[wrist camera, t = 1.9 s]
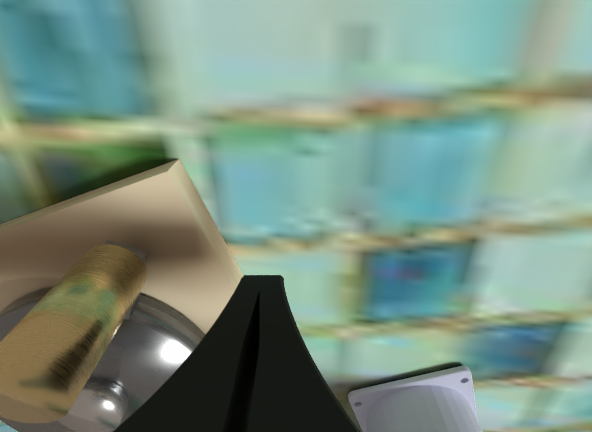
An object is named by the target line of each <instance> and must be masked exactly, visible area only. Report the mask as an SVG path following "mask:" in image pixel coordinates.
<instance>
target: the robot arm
mask: <svg viewBox="0 0 592 432" xmlns="http://www.w3.org/2000/svg"><path fill="white" fill-rule="evenodd" d="M348 400H349V403H350V405H351V407H352V409H353V412H354V414H355V416H356V418H357V420H358V422H359V425H360V427H361V429H362V431H363V432H483V430H482V428H481V426H480V424H479V422H478V418H477V411H476V404H475V396H474V389H473V381H472V374H471V372H470V370H469V368H468V367H466V366H459V367H454V368H450V369H445V370H441V371H437V372H432V373H428V374H423V375H419V376H415V377H410V378H406V379H402V380H397V381H393V382H388V383H384V384H380V385H375V386H371V387H366V388H362V389H358V390H353V391H351V392H349V394H348ZM113 432H360V431H359V430H358V428H357V427H356V426H355V424H354V423H353V422H352V420H351V419H350V418H349V416H348V415H347V413H346V412H345V410H344V409H343V407H342V406H341V404H340V403H339V401H338V400H337V398H336V397H335V396H334V394H333V393H332V391H331V390H330V388H329V386H328V385H327V383H326V382H325V380H324V378H323V377H322V375H321V373H320V372H319V370H318V368H317V366H316V364H315V363H314V361H313V359H312V357H311V355H310V353H309V351H308V349H307V347H306V345H305V343H304V341H303V339H302V337H301V335H300V332H299V330H298V328H297V325H296V323H295V320H294V317H293V315H292V312H291V309H290V306H289V303H288V300H287V296H286V292H285V288H284V278H283V277H282V276H281V275H244V276H243V277H242V278H241V280H240V282H239V284H238V286H237V288H236V289H235V291H234V293H233V295H232V296H231V298H230V300H229V301H228V303H227V305H226V306H225V308H224V309H223V311H222V312H221V314H220V315H219V317H218V318H217V320H216V321H215V323H214V324H213V325H212V327H211V328H210V329H209V331H208V332H207V333H206V335H205V336H204V337H203V339H202V340H201V341H200V343H199V344H198V345H197V347H196V348H195V349H194V350H193V351H192V353H191V354H190V355H189V356H188V357H187V359H186V360H185V361H184V362H183V363H182V364H181V365H180V367H179V368H178V369H177V370H176V371H175V372H174V373H173V374H172V375H171V376H170V377H169V378H168V380H167V381H166V382H165V383H164V384H163V385H162V386H161V387H160V388H159V389H158V390H157V391H156V392H155V393H154V394H153V395H152V396H151V397H150V398H149V399H148V400H147V401H146V402H145V403H144V404H143V405H142V406H141V407H139V408H138V409H137V410H136V411H135V412H134V413H133V414H132V415H131V416H130V417H128V418H127V419H126V420H125V421H124V422H123V423H122V424H121V425H120V426H118V427H117V428H116V429H115V430H114V431H113Z"/></svg>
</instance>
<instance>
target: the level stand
mask: <svg viewBox="0 0 592 432" xmlns="http://www.w3.org/2000/svg"><path fill="white" fill-rule="evenodd" d="M107 240H110V241H114V242H117V243H121V244H125V245H128V246H132V247H136V248H139V249H143V250H146V251H148V257H147V262H146V269H147V275H148V276H147V281H146V283H145V285H144V286H143V288H142V290H141V293H140V295H143V296H145V297H148V298H150V299H153V300H155V301H158V302H160V303H162V304H164V305H166V306H168V307H170V308H172V309H174V310H175V311H177V312H178V313H180V314H181V315H183V316H185V317H186V318H187V319H189V320H190V321H191V322H192V323H194V324H195V325H196V326H197V327H199V329H200V330H201V331H202V332H203V333H204V334H205V335H206V333H207V332H208V331H209V329H210V328H211V327H212V325H213V324H214V323H215V321H216V320H217V318H218V317H219V315H220V314H221V312H222V311H223V309H224V308H225V306H226V305H227V303H228V301H229V300H230V298H231V296H232V295H233V293H234V291H235V289H236V288H237V286H238V284H239V282H240V280H241V278H242V277H243V274H242V272H241V270H240V268H239V267H238V265H237V263H236V261H235V259H234V257H233V256H232V254H231V252H230V250H229V248H228V247H227V245H226V243H225V241H224V239H223V237H222V236H221V234H220V232H219V230H218V228H217V227H216V225H215V223H214V221H213V219H212V217H211V216H210V214H209V212H208V210H207V208H206V207H205V205H204V203H203V201H202V199H201V197H200V196H199V194H198V192H197V190H196V188H195V187H194V185H193V183H192V181H191V179H190V178H189V176H188V174H187V172H186V170H185V168H184V167H183V165H182V163H181V161H180V159H177V160H174V161H172V162H169V163H166V164H163V165H161V166H158V167H155V168H152V169H150V170H147V171H144V172H142V173H139V174H136V175H133V176H131V177H128V178H125V179H122V180H120V181H117V182H114V183H111V184H109V185H106V186H103V187H100V188H98V189H95V190H92V191H90V192H87V193H84V194H81V195H79V196H76V197H73V198H70V199H68V200H65V201H62V202H59V203H57V204H54V205H51V206H48V207H46V208H43V209H40V210H38V211H35V212H32V213H29V214H27V215H24V216H21V217H18V218H16V219H13V220H10V221H7V222H5V223H2V224H0V312H1V311H2V310H3V309H4V308H5V307H6V306H8V305H9V304H10V303H12V302H13V301H14V300H16V299H18V298H20V297H22V296H24V295H25V294H28V293H31V292H34V291H37V290H39V289H44V288H49V287H53V286H54V285H55V284H56V283H57V282H58V281H59V280H60V279H61V278H62V277H63V276H64V275H65V274H66V273H67V272H68V271H69V270H70V269H71V268H72V267H73V266H74V265H75V264H76V263H77V262H78V261H79V259H80V258H81V257H82V256H83V255H84V254H85V253H86V252H87V251H88V250H89V249H91V248H93V247H95V246H98V245H103V244H105V243H106V241H107Z"/></svg>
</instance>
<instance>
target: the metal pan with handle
mask: <svg viewBox="0 0 592 432" xmlns="http://www.w3.org/2000/svg"><path fill="white" fill-rule="evenodd" d="M147 257H148V251H146V250H143V249H139V248H136V247H132V246H128V245H125V244H121V243H117V242H114V241H110V240H107V241H106V243H105V244H103V245H98V246H95V247H93V248H91V249H89V250H88V251H87V252H86V253H85V254H84V255H83V256H82V257H81V258H80V259H79V261H78V262H77V263H76V264H75V265H74V266H73V267H72V268H71V269H70V270H69V271H68V272H67V273H66V274H65V275H64V276H63V277H62V278H61V279H60V280H59V281H58V282H57V283H56V284H55V285H54V286H53V287H49V288H44V289H39V290H37V291H34V292H31V293H28V294H25V295H24V296H22V297H20V298H18V299H16V300H14V301H13V302H12V303H10V304H9V305H8V306H6V307H5V308H4V309H3V310H2V311H1V312H0V420H1V421H3V422H4V423H6V424H7V425H9V426H10V427H12V428H14V429H15V430H17V431H19V432H113V431H114V430H115V429H116V428H117V427H118V426H120V425H121V424H122V423H123V422H124V421H125V420H126V419H127V418H128V417H130V416H131V415H132V414H133V413H134V412H135V411H136V410H137V409H138V408H139V407H141V406H142V405H143V404H144V403H145V402H146V401H147V400H148V399H149V398H150V397H151V396H152V395H153V394H154V393H155V392H156V391H157V390H158V389H159V388H160V387H161V386H162V385H163V384H164V383H165V382H166V381H167V380H168V378H169V377H170V376H171V375H172V374H173V373H174V372H175V371H176V370H177V369H178V368H179V367H180V365H181V364H182V363H183V362H184V361H185V360H186V359H187V357H188V356H189V355H190V354H191V353H192V351H193V350H194V349H195V348H196V347H197V345H198V344H199V343H200V341H201V340H202V339H203V337H204V336H205V334H204V333H203V332H202V331H201V330H200V329H199V327H197V326H196V325H195V324H194V323H192V322H191V321H190V320H189V319H187V318H186V317H185V316H183V315H181V314H180V313H178V312H177V311H175V310H174V309H172V308H170V307H168V306H166V305H164V304H162V303H160V302H158V301H155V300H153V299H150V298H148V297H145V296H143V295H140V293H141V290H142V288H143V286H144V285H145V283H146V281H147V276H148V275H147V269H146V262H147Z"/></svg>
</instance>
